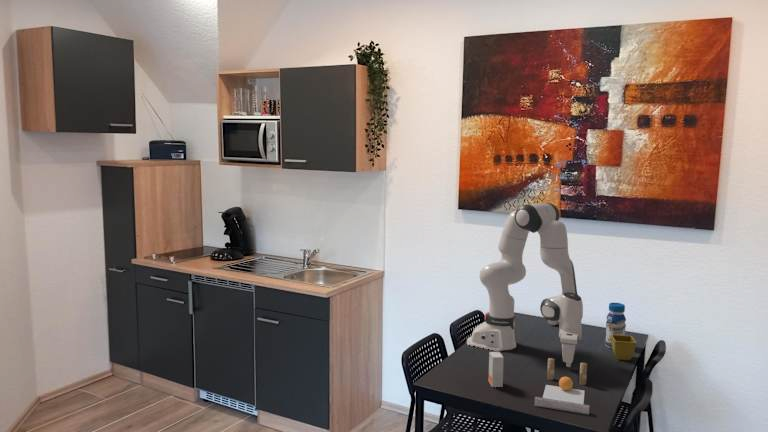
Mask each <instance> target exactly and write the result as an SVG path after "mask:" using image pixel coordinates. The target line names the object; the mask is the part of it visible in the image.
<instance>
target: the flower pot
mask: <svg viewBox="0 0 768 432" xmlns="http://www.w3.org/2000/svg"><path fill="white" fill-rule="evenodd" d="M611 340H612V348H611V349H612V352H613V355H614V356H615V358H616V360H618V361H619V360H620V361H630V360H631V359H632V358H633V356H634V354H635V352H636V347H637V341H636V340H635V338H634V337H633V336H632V335H625V336H623V335H611Z"/></svg>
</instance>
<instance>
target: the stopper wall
mask: <svg viewBox="0 0 768 432" xmlns="http://www.w3.org/2000/svg"><path fill="white" fill-rule="evenodd" d="M533 406H534V407H539V408H540V407H541V408H547V409H552V410H557V411H563V412H564V411H565V412H570V413H576V414H582V415H590V404H585V403H584V404H578V403H572V402H565V401H559V400H553V399H547V398H543V397H542V396H541V397H540V396H534V405H533Z"/></svg>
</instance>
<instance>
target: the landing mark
mask: <svg viewBox="0 0 768 432" xmlns="http://www.w3.org/2000/svg"><path fill="white" fill-rule="evenodd" d="M585 392H586V391H585V390H582V389H578V388H577V389H575V388H571V389H570V390H567V391H566V390H563V389H561V387H560V386H556V385H551V384H550V385H549V384H545V387H544V391H543V395H542V398H547V399H553V400H559V401H565V402H572V403H578V404H584V405H585Z"/></svg>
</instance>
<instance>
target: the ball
mask: <svg viewBox="0 0 768 432" xmlns="http://www.w3.org/2000/svg"><path fill="white" fill-rule="evenodd" d="M558 385H559V386H558V387H561V389H563V390H566V391H567V390H570V389H573V386H574V382H573V380H572V378H570V377H569V376H562V377H560V379H559V380H558Z"/></svg>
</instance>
